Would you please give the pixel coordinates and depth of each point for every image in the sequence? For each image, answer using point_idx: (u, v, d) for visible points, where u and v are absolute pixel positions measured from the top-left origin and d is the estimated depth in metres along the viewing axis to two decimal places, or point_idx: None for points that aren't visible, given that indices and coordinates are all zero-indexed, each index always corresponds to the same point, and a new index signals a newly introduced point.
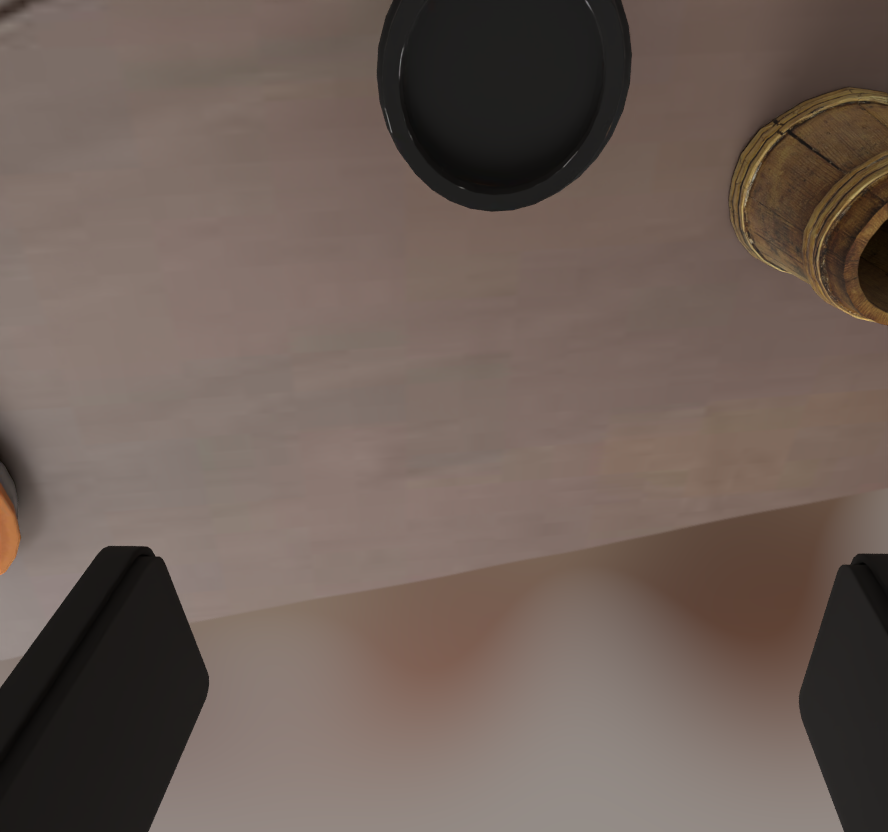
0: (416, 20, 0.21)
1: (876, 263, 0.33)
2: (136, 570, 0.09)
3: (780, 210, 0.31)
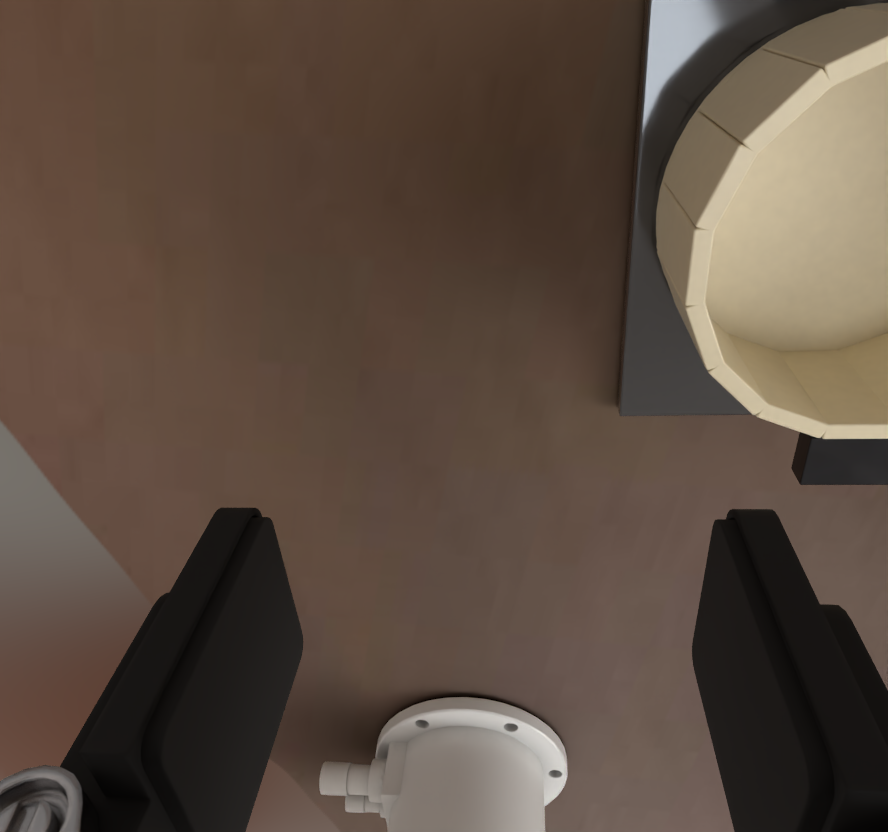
0: None
1: None
2: (252, 529, 0.10)
3: None
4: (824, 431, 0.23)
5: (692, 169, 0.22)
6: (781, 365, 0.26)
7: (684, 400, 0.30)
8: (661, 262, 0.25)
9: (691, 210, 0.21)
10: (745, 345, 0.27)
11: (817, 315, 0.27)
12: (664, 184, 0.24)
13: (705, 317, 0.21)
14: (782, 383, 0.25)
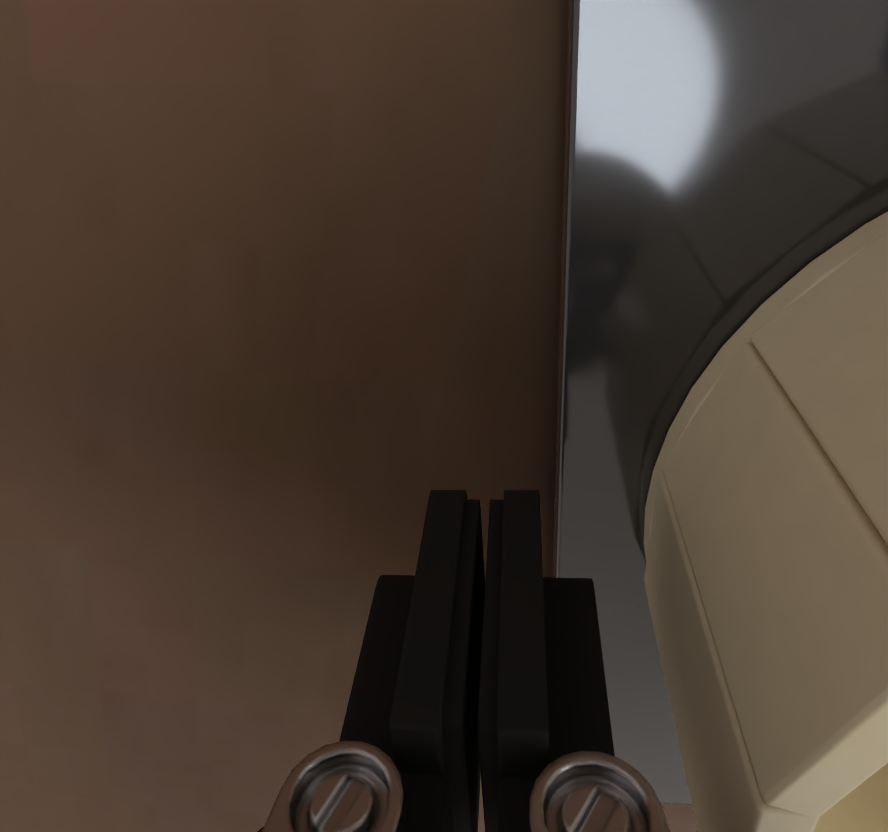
0: None
1: None
2: (469, 510, 0.10)
3: None
4: None
5: (740, 531, 0.08)
6: None
7: (662, 785, 0.17)
8: (654, 626, 0.12)
9: (744, 702, 0.07)
10: None
11: None
12: (663, 480, 0.11)
13: None
14: None
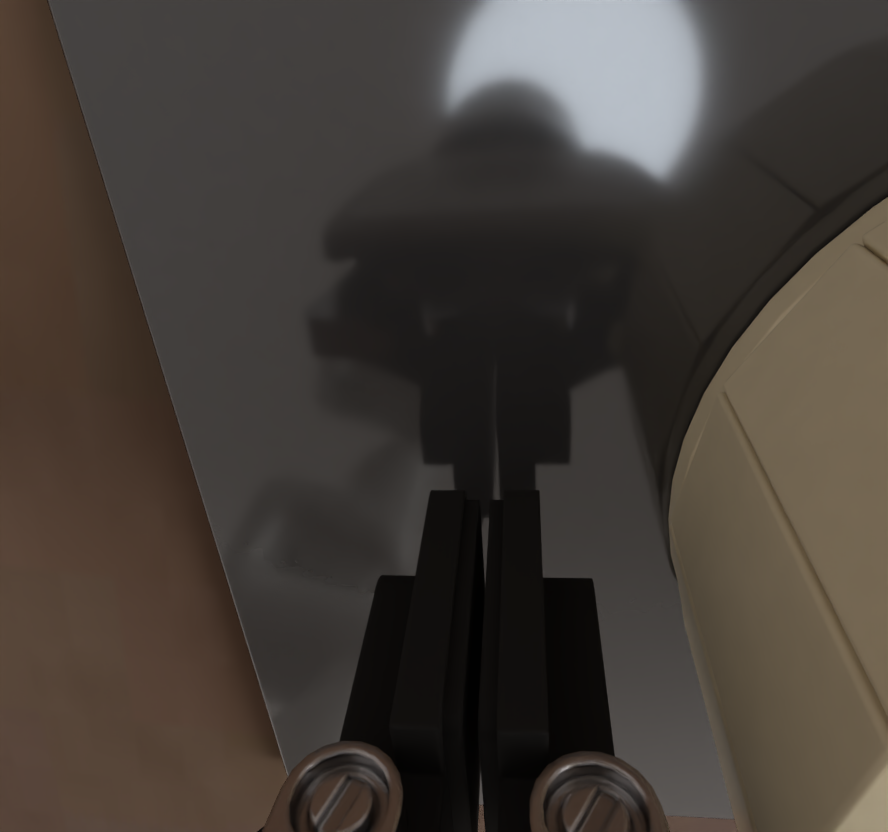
0: None
1: None
2: (470, 511, 0.10)
3: None
4: None
5: (853, 438, 0.07)
6: None
7: None
8: (679, 569, 0.10)
9: (865, 626, 0.06)
10: None
11: None
12: (724, 400, 0.09)
13: None
14: None
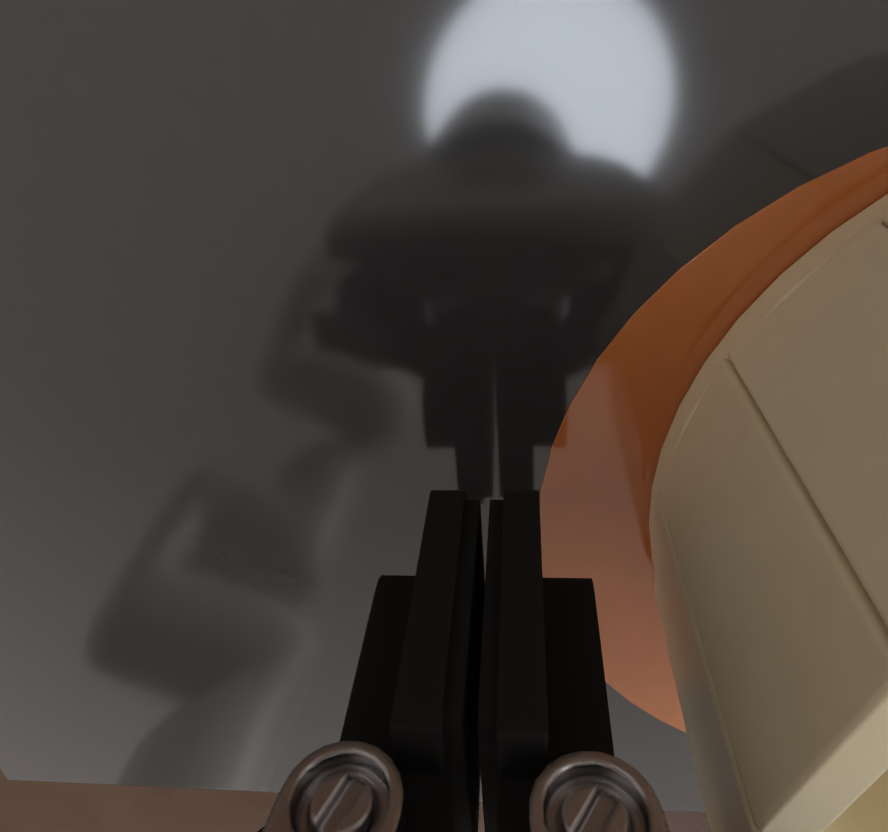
0: None
1: None
2: (470, 510, 0.10)
3: None
4: None
5: (867, 395, 0.07)
6: None
7: (89, 768, 0.18)
8: (663, 532, 0.11)
9: (876, 563, 0.06)
10: None
11: None
12: (728, 366, 0.10)
13: None
14: None
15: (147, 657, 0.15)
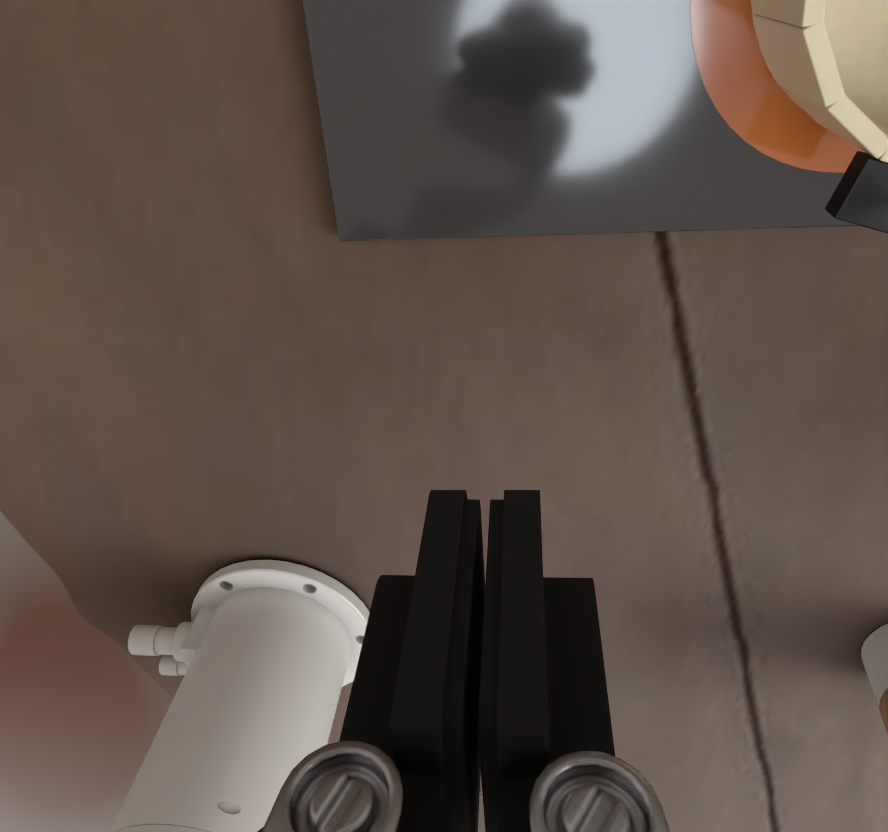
0: None
1: None
2: (469, 510, 0.10)
3: None
4: (886, 149, 0.21)
5: None
6: None
7: (395, 222, 0.30)
8: None
9: None
10: None
11: (884, 74, 0.25)
12: None
13: None
14: None
15: (455, 112, 0.28)
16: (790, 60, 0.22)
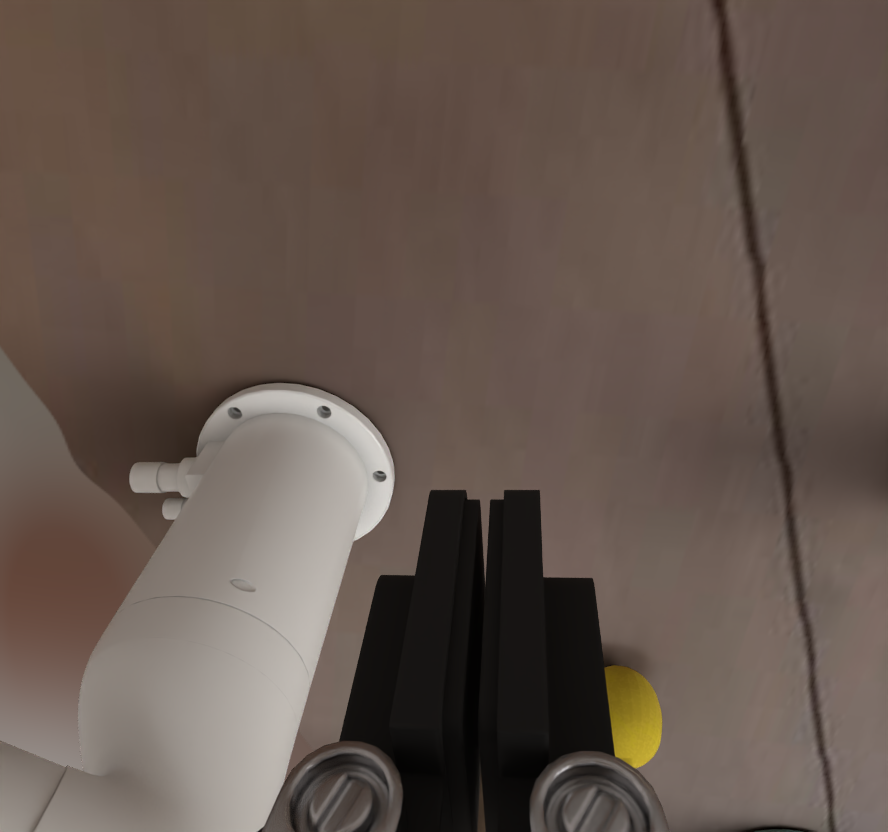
0: None
1: None
2: (470, 511, 0.10)
3: None
4: None
5: None
6: None
7: None
8: None
9: None
10: None
11: None
12: None
13: None
14: None
15: None
16: None
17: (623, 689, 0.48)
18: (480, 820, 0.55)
